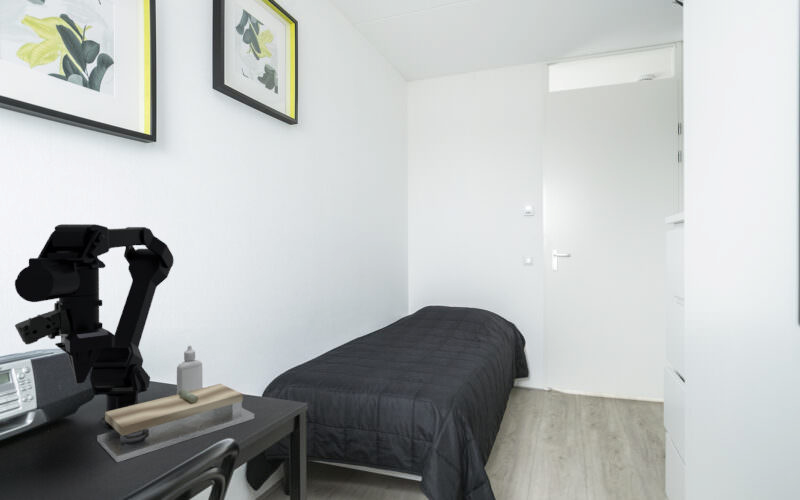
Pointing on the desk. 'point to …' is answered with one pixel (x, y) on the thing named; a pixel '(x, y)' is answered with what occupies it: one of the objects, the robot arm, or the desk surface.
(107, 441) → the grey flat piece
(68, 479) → the desk surface
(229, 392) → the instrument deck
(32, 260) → the robot arm
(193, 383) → the eye dropper bottle
